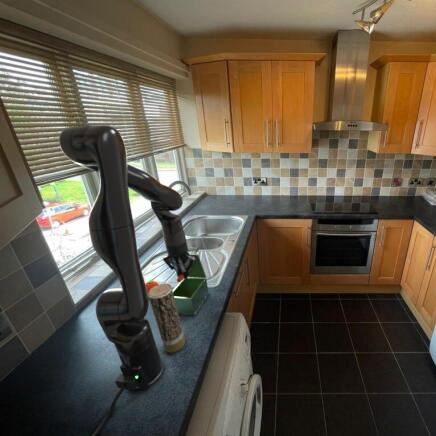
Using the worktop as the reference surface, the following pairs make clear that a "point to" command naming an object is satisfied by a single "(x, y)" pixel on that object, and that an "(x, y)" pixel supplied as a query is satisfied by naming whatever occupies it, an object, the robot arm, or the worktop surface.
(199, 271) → the lid
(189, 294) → the box
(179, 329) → the brown textured cylinder
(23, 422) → the worktop surface
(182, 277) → the red rounded rod
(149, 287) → the tomato
